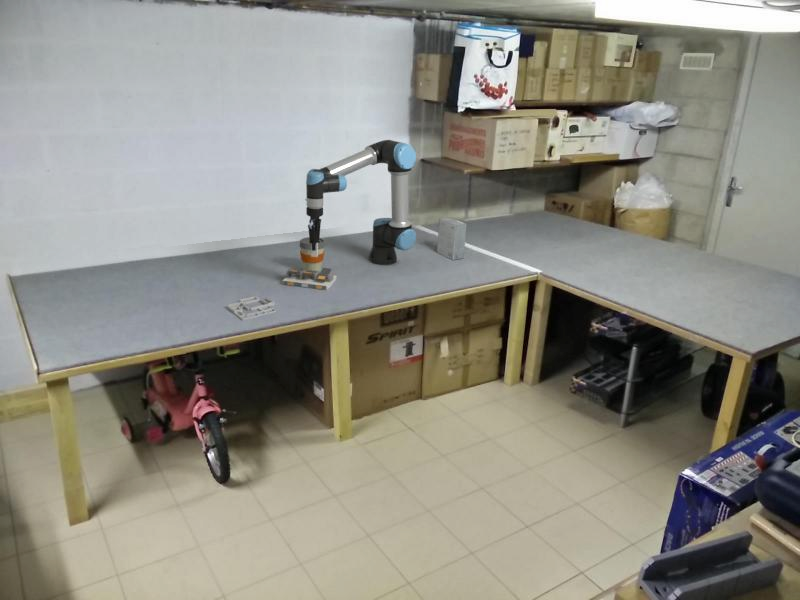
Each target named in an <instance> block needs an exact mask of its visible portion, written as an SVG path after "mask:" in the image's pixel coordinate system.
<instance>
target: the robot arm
mask: <svg viewBox="0 0 800 600" xmlns="http://www.w3.org/2000/svg"><path fill="white" fill-rule="evenodd" d="M416 160H417V154H416V150H415V149H414V148H413V146H412V145H410V144H407V143H406V142H402V141H396V140H391V139H384V140H381V141H378V142H375V143H372V144H370V145H367V146H365V148H364V150H361V151H358V152H357V153H354V154H352V155H349V156H347V157H345V158H342V159H341V160H338V161H335V162H333V163H331V164H329V165H327V166H324V167H321V168H319V169H318V168H317V169H316V168H312V169H310V170H309V171H308V172H307V174H306V181H305V184H306V186H305V187H306V198H305V201H306V206H307V207H305V208H306V210H305V211H306V216H308V217H309V220H308V221H309V222H308V223H309V224H308V225H307V228H308V235H309V236H308V237H309V240H310V242H309V243H311V257H318V243H317V242H319V243H320V241H318V240H319V239H320V238H321V237H320V235H321V234H320V233H321V225H322V224H321V223H322V218H320V217H322V216H323V215H324V208H323V207H324V194H327V193H329V194H330V193H337V192H338V193H340V192H343V191H345V190H346V189H347V187H348V184H347V183H348V181H347V180H348V179H347V178H346V176H348V175H349V174H352V173H355V172H356V171H359V170H361V169H363V168H366V167H368V166H370V165H371V166H374V165H378V164H386V165H387V172H388V173H389V174H390V189H391V190H390V192H391V193H390V195H391V197H390V199H391V217H381V218H375V220H373V224H372V245H371V246H372V247H371V248H370V252H369V255H368V261H369V262H370V263H371V264H372V263H373V264H374V265H383V266H384V265H391V264H395V263H397V261H398V257H397V251H396V249H397V250H399V251H407V250H410V249H412V247H413V246H414V244H416V239H417V233H416V231H415V230H414V229H413V228H412V227H413V226H412V224H413V223H412V222H411V221H410V220H409V212H410V211H409V210H410V209H409V207H410V206H409V174H410V173H411V171H412V168H413V166H414V165H415V164H416Z"/></svg>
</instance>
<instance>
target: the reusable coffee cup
mask: <svg viewBox="0 0 800 600" xmlns="http://www.w3.org/2000/svg"><path fill="white" fill-rule="evenodd" d="M318 241H320V243H319V242H317V243H318V257H311V243H309V242H310V240H309V236H308V237H304V238H301V239H300V240H299V248H300V251H299V253H300V260H301V261H302V268H303V270H306V271H309V270H312V271H320V272H321V270H322V264H323V261H324V257H325V251H324V249H325V247H326V246H325V240H324V238H321V237H320V239H319V240H318Z"/></svg>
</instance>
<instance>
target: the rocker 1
mask: <svg viewBox="0 0 800 600" xmlns="http://www.w3.org/2000/svg"><path fill="white" fill-rule="evenodd" d="M303 270H304V269H301V268H294V269H293V268H292V270H290V271H289V272H288V273H289V274H299V273H301V272H302V271H303Z"/></svg>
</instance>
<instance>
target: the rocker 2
mask: <svg viewBox="0 0 800 600" xmlns="http://www.w3.org/2000/svg"><path fill="white" fill-rule="evenodd" d="M331 273H332V268H327V267H322V268H321V270H320V273H319V276H318V277H317V281H320V282H325V281H326V279H327V277H328V276H329V275H330V274H331Z"/></svg>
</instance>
